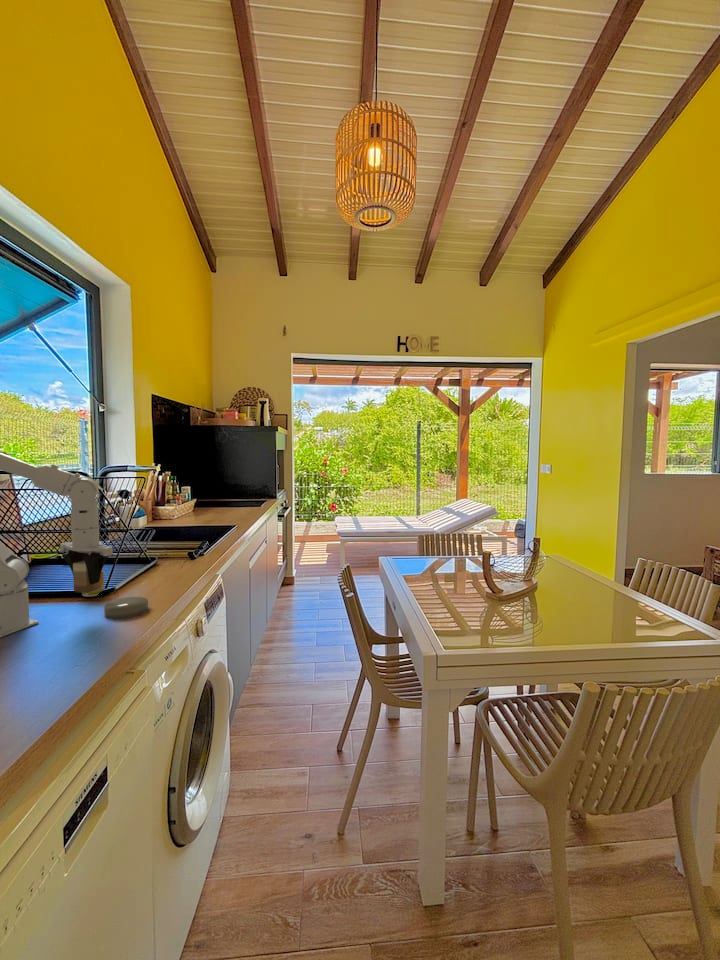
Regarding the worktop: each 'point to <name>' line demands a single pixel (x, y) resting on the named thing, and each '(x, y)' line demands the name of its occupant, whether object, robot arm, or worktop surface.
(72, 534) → the robot arm
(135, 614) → the stand
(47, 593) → the worktop surface
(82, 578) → the block
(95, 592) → the supplement bottle
